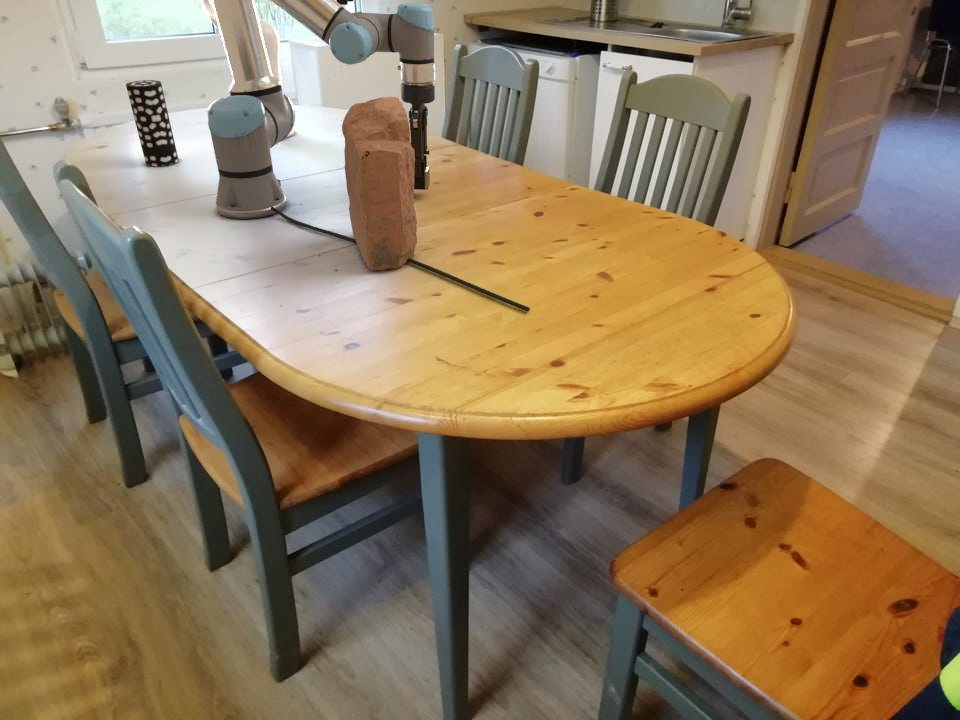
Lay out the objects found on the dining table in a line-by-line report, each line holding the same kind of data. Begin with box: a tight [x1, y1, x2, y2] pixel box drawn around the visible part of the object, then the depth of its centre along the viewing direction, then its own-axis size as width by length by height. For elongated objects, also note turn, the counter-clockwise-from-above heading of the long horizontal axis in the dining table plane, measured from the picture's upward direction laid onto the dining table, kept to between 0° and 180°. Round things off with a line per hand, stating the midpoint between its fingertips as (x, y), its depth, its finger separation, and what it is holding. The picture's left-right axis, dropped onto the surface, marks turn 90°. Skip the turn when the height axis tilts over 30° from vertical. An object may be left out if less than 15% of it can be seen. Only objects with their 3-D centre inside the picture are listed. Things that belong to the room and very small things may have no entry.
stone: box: [341, 96, 418, 271], centre depth 131 cm, size 22×11×28 cm, turn 18°
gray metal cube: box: [424, 165, 431, 191], centre depth 164 cm, size 4×4×4 cm
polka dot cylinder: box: [125, 79, 179, 167], centre depth 181 cm, size 8×8×20 cm
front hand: (420, 185), depth 165 cm, fingers closed on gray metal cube, 4 cm apart
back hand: (345, 2), depth 211 cm, fingers open, 9 cm apart
